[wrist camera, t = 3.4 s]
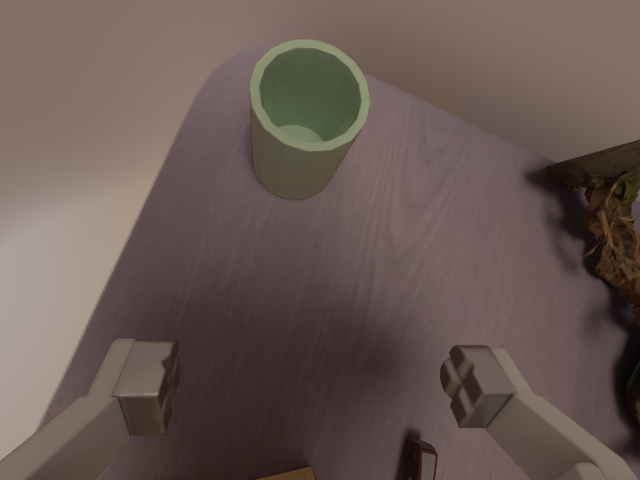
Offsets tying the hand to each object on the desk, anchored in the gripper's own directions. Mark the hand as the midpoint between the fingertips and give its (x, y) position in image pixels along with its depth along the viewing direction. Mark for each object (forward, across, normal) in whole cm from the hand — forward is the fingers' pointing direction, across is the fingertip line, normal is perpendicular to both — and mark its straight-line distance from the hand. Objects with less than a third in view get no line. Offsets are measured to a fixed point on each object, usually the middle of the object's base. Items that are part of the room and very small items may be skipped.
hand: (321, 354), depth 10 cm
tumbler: (+19, 0, +2) cm, 19 cm away
